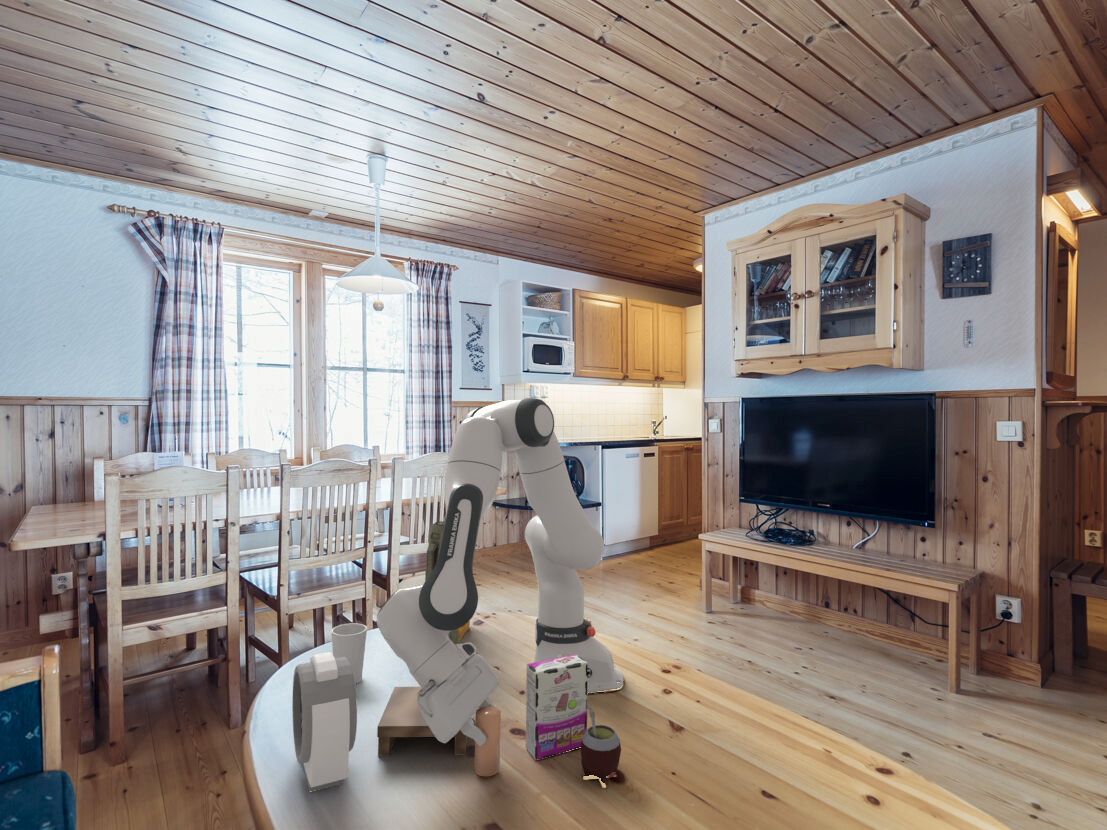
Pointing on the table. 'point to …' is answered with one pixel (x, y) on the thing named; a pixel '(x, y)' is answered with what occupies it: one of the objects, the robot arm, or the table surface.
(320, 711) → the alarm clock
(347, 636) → the cup
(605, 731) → the mate gourd
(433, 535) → the thermos
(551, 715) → the candy bar box
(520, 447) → the robot arm
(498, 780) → the table surface
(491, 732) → the peach cylinder
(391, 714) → the walnut shelf
